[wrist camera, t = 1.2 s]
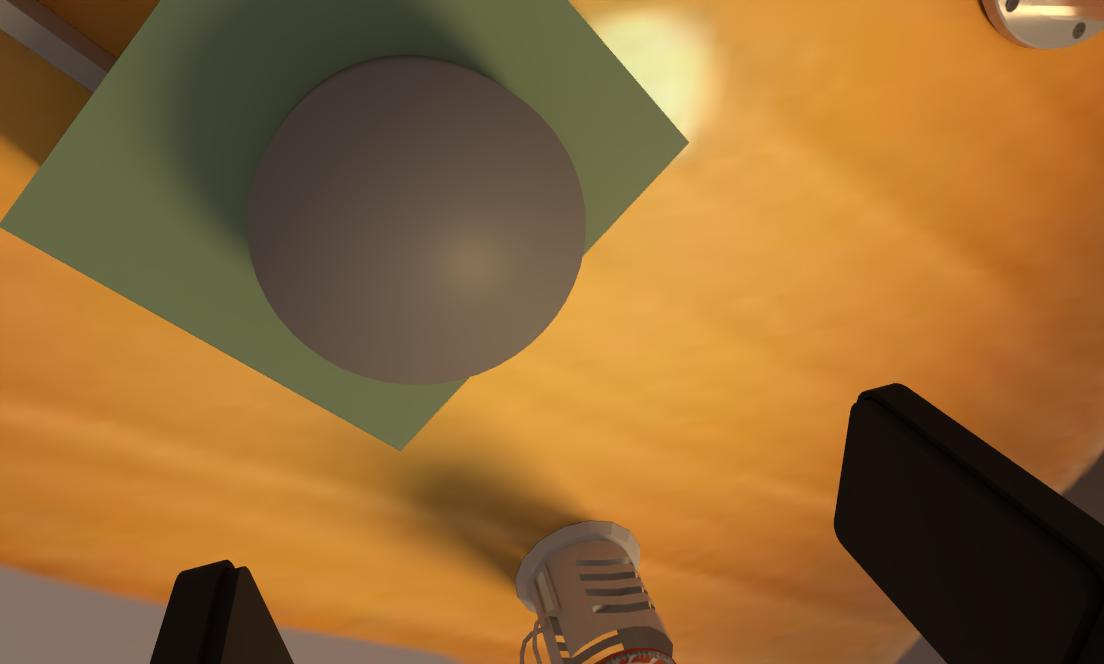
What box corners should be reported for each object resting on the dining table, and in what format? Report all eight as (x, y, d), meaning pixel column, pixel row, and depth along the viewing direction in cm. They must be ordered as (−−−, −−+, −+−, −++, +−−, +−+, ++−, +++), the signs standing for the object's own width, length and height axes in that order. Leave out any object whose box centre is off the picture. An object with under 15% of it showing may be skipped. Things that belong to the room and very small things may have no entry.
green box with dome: (111, -473, 20) (-67, -813, 12) (638, 120, 34) (734, 162, 25) (-193, 26, 24) (-504, 42, 15) (394, 388, 37) (405, 506, 28)
